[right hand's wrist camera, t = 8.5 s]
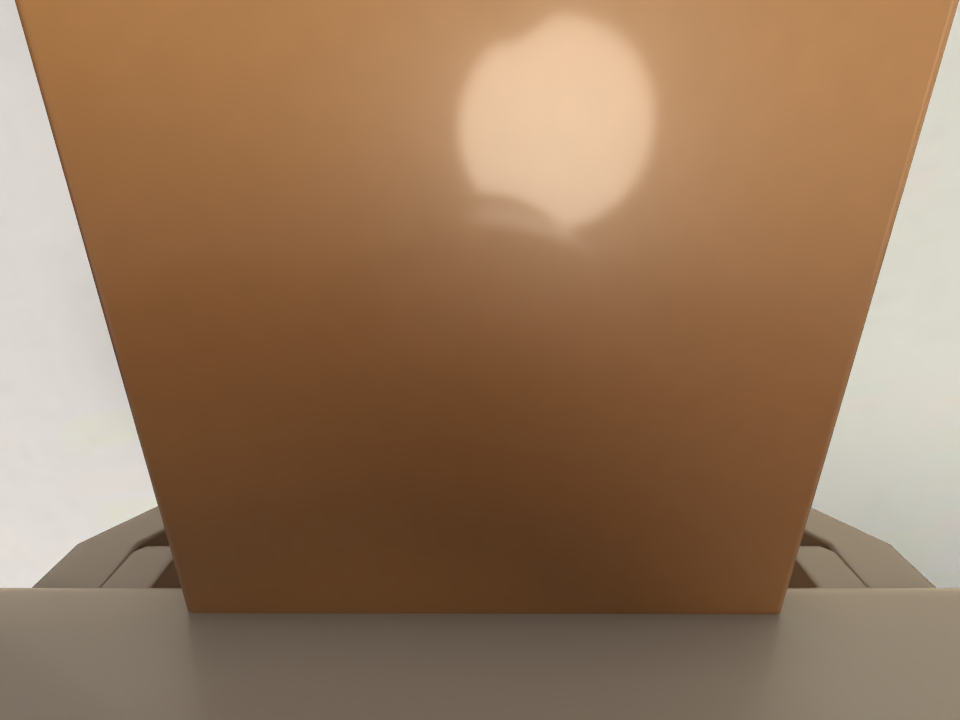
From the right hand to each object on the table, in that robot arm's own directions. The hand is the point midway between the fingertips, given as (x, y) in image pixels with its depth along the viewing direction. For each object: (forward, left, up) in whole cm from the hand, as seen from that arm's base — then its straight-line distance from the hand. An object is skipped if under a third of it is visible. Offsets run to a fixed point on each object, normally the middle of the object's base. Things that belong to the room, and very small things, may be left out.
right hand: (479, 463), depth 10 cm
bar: (+8, 0, -4) cm, 9 cm away
